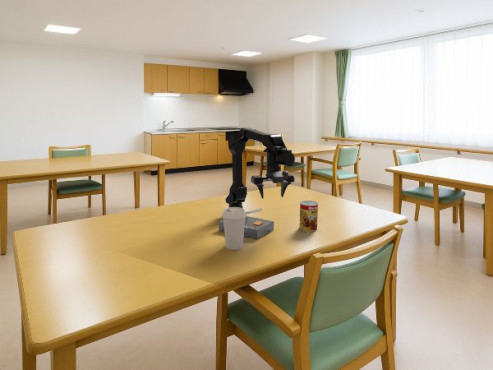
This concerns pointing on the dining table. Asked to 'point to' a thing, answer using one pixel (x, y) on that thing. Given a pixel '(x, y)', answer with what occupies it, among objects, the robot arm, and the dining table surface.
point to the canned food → (308, 216)
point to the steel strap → (253, 211)
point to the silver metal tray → (254, 227)
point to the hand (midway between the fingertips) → (272, 197)
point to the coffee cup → (234, 227)
